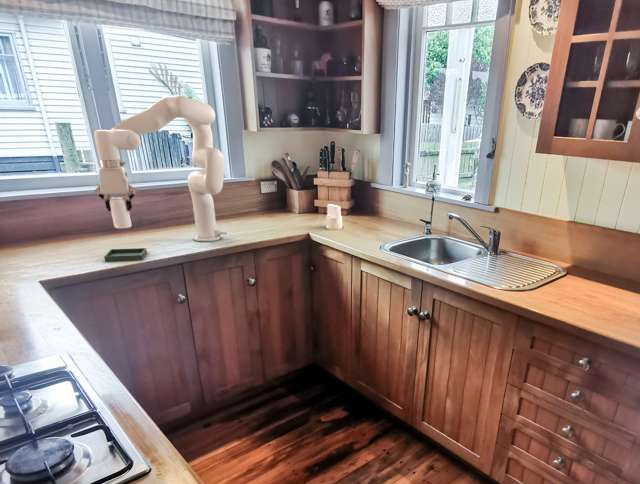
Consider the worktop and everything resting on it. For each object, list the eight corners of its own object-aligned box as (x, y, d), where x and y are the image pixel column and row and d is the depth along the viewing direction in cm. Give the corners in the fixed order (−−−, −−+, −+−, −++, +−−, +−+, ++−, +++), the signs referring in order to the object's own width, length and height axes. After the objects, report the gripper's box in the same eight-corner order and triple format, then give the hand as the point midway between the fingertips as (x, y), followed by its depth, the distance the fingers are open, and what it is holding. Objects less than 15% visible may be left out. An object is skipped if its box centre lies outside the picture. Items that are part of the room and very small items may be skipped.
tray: (146, 252, 204) (146, 248, 203) (142, 259, 194) (141, 255, 193) (111, 254, 200) (110, 249, 199) (105, 261, 191) (104, 256, 190)
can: (124, 229, 189) (119, 199, 184) (110, 228, 190) (104, 198, 185) (135, 226, 195) (129, 196, 190) (121, 225, 196) (115, 195, 191)
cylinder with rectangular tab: (322, 226, 259) (322, 204, 254) (335, 224, 264) (335, 203, 259) (332, 230, 253) (332, 207, 247) (345, 227, 258) (345, 206, 253)
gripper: (136, 163, 187) (144, 208, 195) (88, 163, 183) (98, 209, 191) (133, 165, 181) (141, 211, 188) (83, 165, 177) (93, 212, 184)
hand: (119, 210), depth 189 cm, fingers closed on can, 6 cm apart
